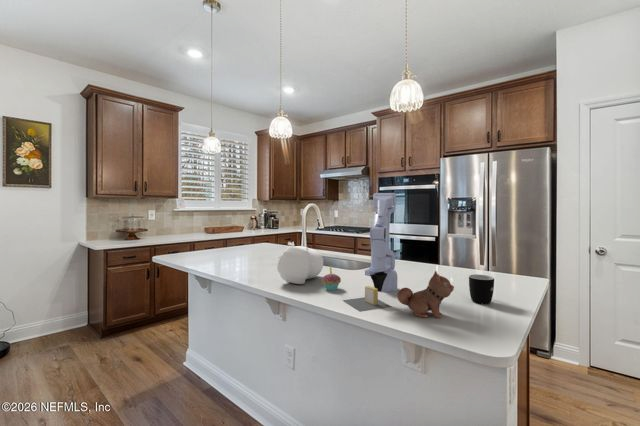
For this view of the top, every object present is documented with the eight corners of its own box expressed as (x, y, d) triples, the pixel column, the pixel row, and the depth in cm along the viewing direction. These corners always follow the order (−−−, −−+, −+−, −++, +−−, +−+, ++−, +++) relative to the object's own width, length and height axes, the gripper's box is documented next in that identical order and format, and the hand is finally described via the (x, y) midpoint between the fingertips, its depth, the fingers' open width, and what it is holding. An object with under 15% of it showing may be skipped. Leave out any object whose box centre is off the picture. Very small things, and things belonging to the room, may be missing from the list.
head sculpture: (296, 242, 178) (276, 239, 152) (330, 250, 172) (314, 247, 145) (288, 276, 176) (266, 278, 150) (322, 285, 170) (305, 289, 144)
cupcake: (339, 292, 138) (339, 265, 137) (320, 291, 140) (320, 264, 139) (341, 287, 146) (341, 262, 146) (324, 286, 148) (324, 261, 148)
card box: (368, 300, 125) (368, 285, 125) (377, 304, 121) (377, 288, 121) (364, 301, 124) (364, 286, 124) (373, 305, 120) (374, 289, 120)
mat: (372, 297, 131) (372, 296, 131) (392, 307, 118) (392, 306, 118) (342, 301, 126) (342, 300, 126) (359, 312, 113) (359, 311, 113)
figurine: (457, 320, 105) (457, 276, 105) (398, 317, 109) (398, 274, 108) (450, 310, 115) (450, 270, 115) (396, 307, 119) (396, 268, 118)
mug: (493, 307, 119) (494, 280, 119) (467, 303, 123) (468, 278, 123) (493, 298, 130) (494, 274, 129) (469, 295, 134) (469, 272, 134)
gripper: (381, 253, 132) (381, 285, 132) (358, 257, 122) (358, 292, 122) (395, 255, 126) (395, 289, 127) (373, 260, 117) (373, 296, 117)
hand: (378, 291), depth 124 cm, fingers closed
